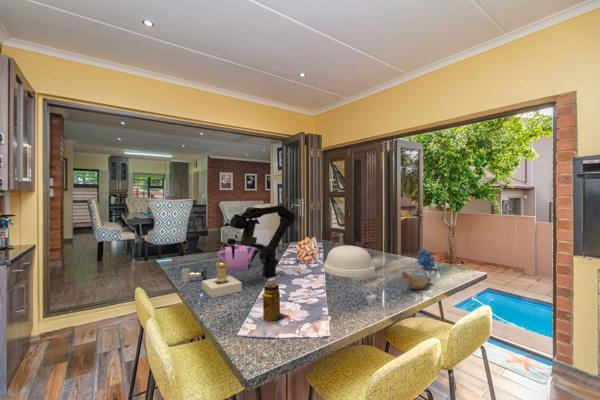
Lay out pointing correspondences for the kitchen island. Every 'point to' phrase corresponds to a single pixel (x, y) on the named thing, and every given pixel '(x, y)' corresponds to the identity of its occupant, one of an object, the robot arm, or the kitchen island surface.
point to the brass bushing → (221, 272)
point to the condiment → (271, 304)
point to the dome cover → (349, 262)
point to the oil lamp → (415, 281)
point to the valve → (192, 275)
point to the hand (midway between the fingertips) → (242, 260)
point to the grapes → (425, 259)
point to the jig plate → (221, 287)
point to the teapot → (236, 258)
